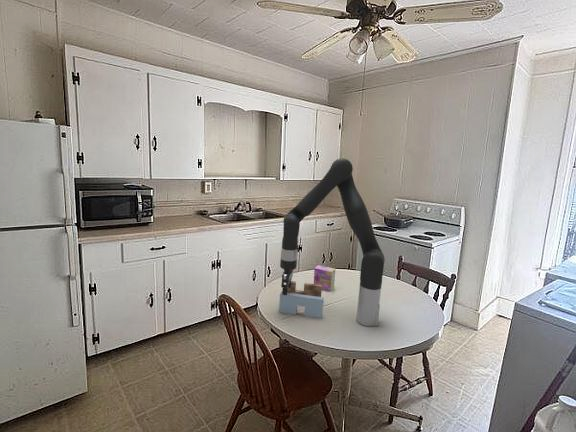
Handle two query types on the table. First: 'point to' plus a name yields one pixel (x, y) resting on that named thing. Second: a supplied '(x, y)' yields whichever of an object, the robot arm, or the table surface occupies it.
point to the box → (324, 277)
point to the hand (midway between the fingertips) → (286, 290)
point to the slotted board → (306, 289)
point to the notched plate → (301, 304)
